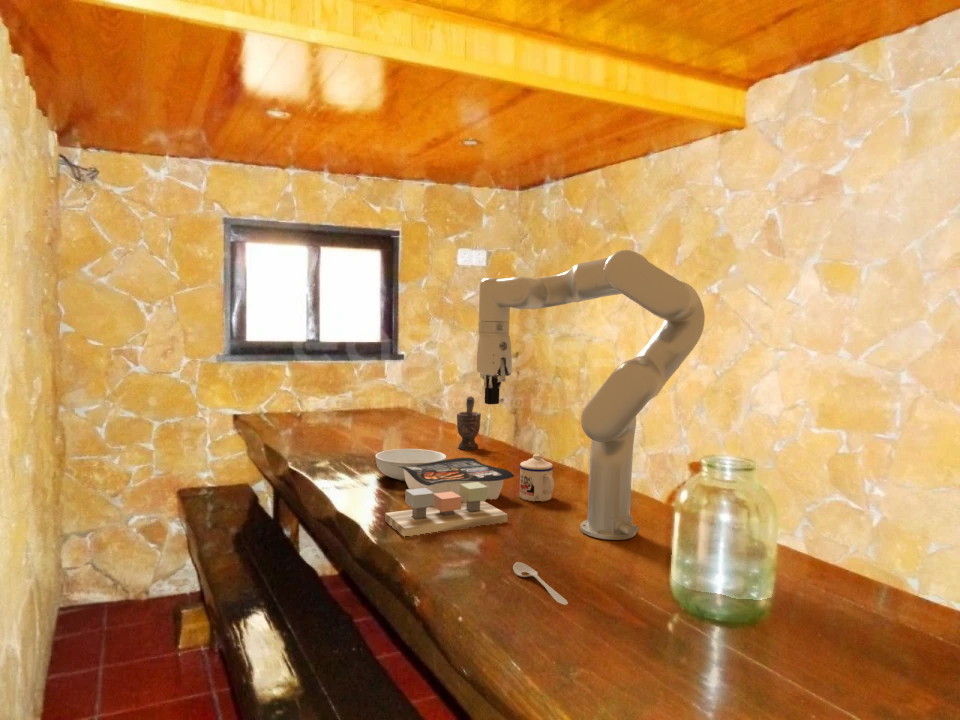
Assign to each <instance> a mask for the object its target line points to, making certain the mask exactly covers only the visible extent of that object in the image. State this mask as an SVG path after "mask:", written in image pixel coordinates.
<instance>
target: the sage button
mask: <svg viewBox="0 0 960 720" xmlns="http://www.w3.org/2000/svg"><path fill="white" fill-rule="evenodd" d="M460 496H461V497H462V498H463V499H465V500H467V507H466V508H467V509H468V510H470V511H476V510H480V500H485V501H486V500H489V499H488V487H487V486H485V485H483V484H481V483H479V482H474V483H464V484H460Z"/></svg>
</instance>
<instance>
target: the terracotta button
mask: <svg viewBox="0 0 960 720" xmlns="http://www.w3.org/2000/svg"><path fill="white" fill-rule="evenodd" d="M461 504H462V502H461V496H459V495H457V494H456V493H454V492H443V493H434V506H432V507H435V508H436V509H438V510H439V511H440V514H441V515H443V516H448V515H454V510H461Z"/></svg>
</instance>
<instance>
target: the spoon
mask: <svg viewBox="0 0 960 720" xmlns="http://www.w3.org/2000/svg"><path fill="white" fill-rule="evenodd" d="M512 566H513V567H512V569H513V572H514V574H515V575H516V576H519V577H522V578H530V577H531V578H532V577H533V578H535V579H536V580H537V582H539V583H540V584H541V585H542V586H543V587H544V589H545V590H546V591H547V593H548V594H549V596H550V597H551V598H552V599H553V600H555V602H557V603H559V604H561V605H564V606H566V605H568V604H569V601H568V600H567V599H565V598H564V597H563V596H562V595H561V594H559V593H558V592H557V591H556V590H555V589H554V588H552V587H551V586H550V585H549V584H548V583H546V582H545V581H544V580H543V579H542V578H541V577H540V576H539V572H538V571H536V570H535V569H534V568H532V567H531V566H529V565H527V564H526V563H524V562H521V561H516V562H515V563H514V564H513V565H512ZM522 573H528V574H527V575H526V574H525V575H523V574H522Z"/></svg>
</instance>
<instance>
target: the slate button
mask: <svg viewBox="0 0 960 720" xmlns="http://www.w3.org/2000/svg"><path fill="white" fill-rule="evenodd" d="M404 495H405V496H404V500H405V503H404V504H406V505H408V506H409V507H410V508H412V509H411V510H412V516H414V517H415V518H423V517H426V508H429V507H433V506H434V493H433V492H431V491H430V490H428V489H427V488H418V489H409V488H408V489H405V494H404Z"/></svg>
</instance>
